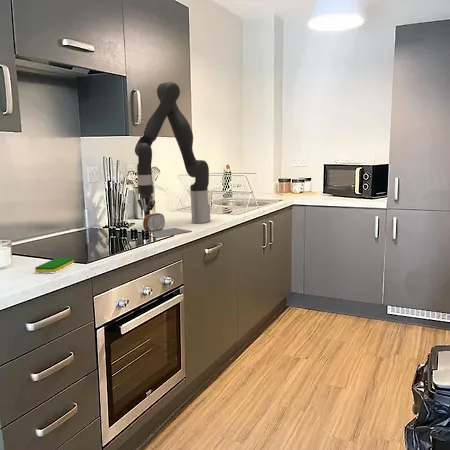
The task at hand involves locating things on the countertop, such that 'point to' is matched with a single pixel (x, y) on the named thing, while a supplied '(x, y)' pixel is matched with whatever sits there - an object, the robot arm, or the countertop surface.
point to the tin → (153, 222)
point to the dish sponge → (54, 265)
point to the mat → (169, 232)
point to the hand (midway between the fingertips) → (147, 218)
